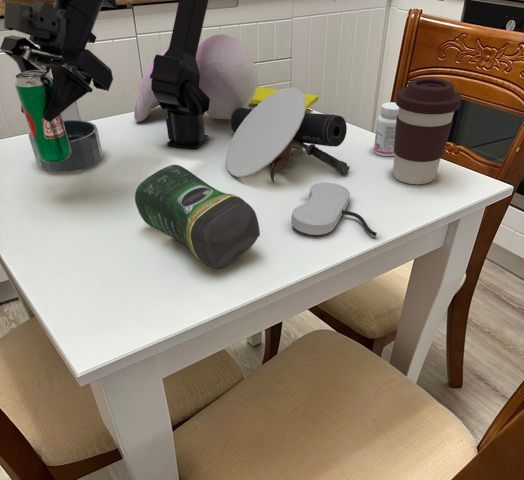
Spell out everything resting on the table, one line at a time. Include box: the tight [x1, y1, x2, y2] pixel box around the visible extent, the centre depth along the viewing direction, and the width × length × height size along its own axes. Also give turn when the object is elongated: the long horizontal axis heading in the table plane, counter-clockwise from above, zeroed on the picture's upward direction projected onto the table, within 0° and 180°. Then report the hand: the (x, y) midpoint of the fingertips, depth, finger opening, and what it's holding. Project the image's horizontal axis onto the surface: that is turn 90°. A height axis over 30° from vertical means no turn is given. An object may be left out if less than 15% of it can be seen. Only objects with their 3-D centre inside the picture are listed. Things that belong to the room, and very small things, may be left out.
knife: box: [291, 139, 351, 174], centre depth 93 cm, size 19×2×5 cm
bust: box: [133, 33, 259, 123], centre depth 109 cm, size 20×18×30 cm
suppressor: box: [229, 107, 348, 148], centre depth 96 cm, size 27×5×5 cm, turn 41°
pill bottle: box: [373, 101, 399, 157], centre depth 95 cm, size 5×5×8 cm
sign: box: [250, 86, 319, 111], centre depth 121 cm, size 29×2×10 cm
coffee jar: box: [134, 164, 261, 269], centre depth 71 cm, size 10×8×19 cm
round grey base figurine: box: [225, 87, 306, 183], centre depth 92 cm, size 18×18×11 cm
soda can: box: [14, 70, 72, 163], centre depth 77 cm, size 5×5×12 cm
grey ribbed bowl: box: [28, 119, 104, 172], centre depth 95 cm, size 12×12×6 cm
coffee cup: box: [392, 77, 462, 185], centre depth 85 cm, size 10×10×15 cm
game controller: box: [290, 182, 378, 237], centre depth 78 cm, size 15×13×2 cm
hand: (35, 116), depth 76 cm, fingers closed on soda can, 5 cm apart
